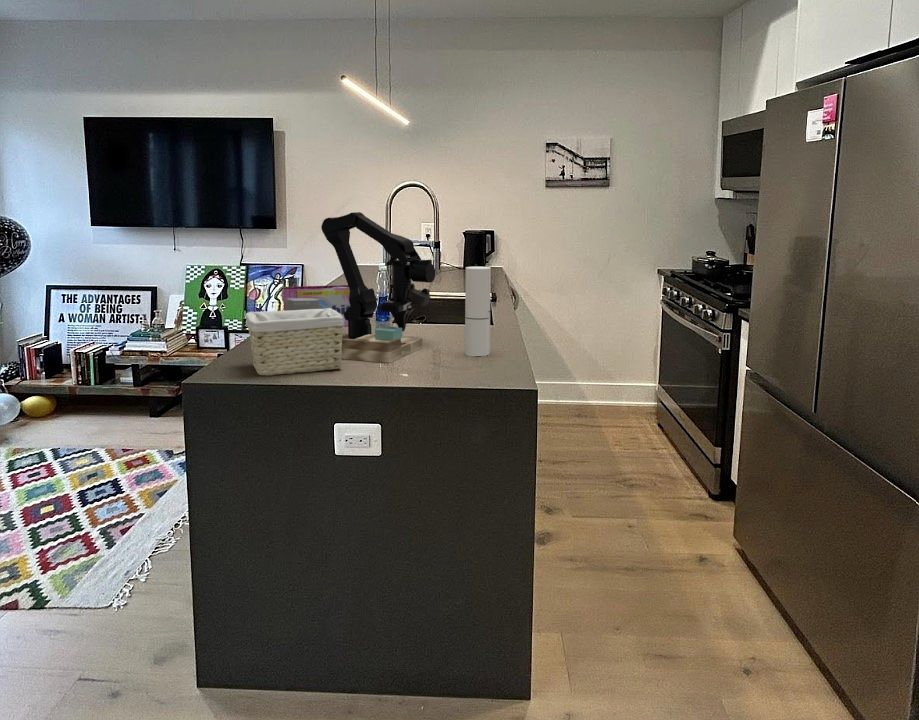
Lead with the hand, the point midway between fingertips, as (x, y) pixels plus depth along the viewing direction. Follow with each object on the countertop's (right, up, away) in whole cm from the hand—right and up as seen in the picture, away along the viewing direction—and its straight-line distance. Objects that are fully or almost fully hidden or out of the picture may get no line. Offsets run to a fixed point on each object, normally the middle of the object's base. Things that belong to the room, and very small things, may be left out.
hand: (402, 331), depth 251 cm
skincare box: (-28, -7, -14) cm, 32 cm away
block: (-3, -2, -8) cm, 9 cm away
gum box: (-31, +3, +30) cm, 43 cm away
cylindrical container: (+23, -7, -15) cm, 28 cm away
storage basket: (-26, -11, -33) cm, 44 cm away
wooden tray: (-6, -7, -14) cm, 17 cm away
